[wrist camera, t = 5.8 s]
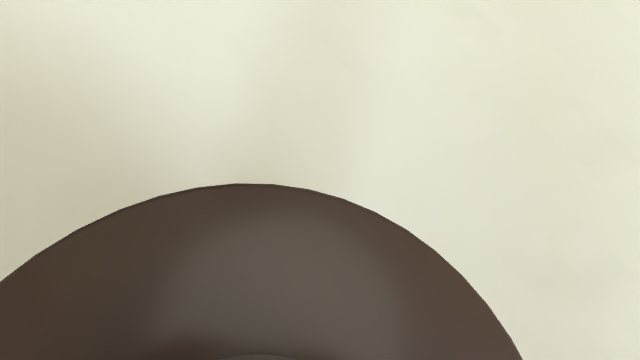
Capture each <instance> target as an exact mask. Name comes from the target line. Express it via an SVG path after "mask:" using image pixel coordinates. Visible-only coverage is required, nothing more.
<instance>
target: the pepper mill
mask: <svg viewBox="0 0 640 360" xmlns="http://www.w3.org/2000/svg"><path fill="white" fill-rule="evenodd" d="M0 360H523V359H522V357H521V356H520V354H519V352H518V350H517V348H516V347H515V345H514V343H513V341H512V339H511V338H510V336H509V335H508V333H507V332H506V330H505V329H504V328H503V326H502V325H501V323H500V322H499V320H498V319H497V318H496V316H495V315H494V313H493V312H492V310H491V309H490V307H489V306H488V305H487V304H486V302H485V301H484V300H483V299H482V298H481V297H480V295H479V294H478V293H477V292H476V291H475V290H474V289H473V287H472V286H471V285H470V284H469V283H468V282H467V280H466V279H465V278H464V277H463V276H462V275H461V274H460V273H459V272H458V271H457V270H456V269H455V268H453V267H452V266H451V265H450V264H449V263H448V262H447V261H446V260H445V259H444V258H443V257H442V256H440V255H439V254H438V253H437V252H436V251H435V250H434V249H432V248H431V247H429V246H428V245H427V244H425V243H424V242H423V241H421V240H420V239H418V238H417V237H416V236H414V235H413V234H412V233H410V232H409V231H408V230H406V229H404V228H403V227H401V226H399V225H397V224H396V223H394V222H392V221H390V220H388V219H387V218H385V217H383V216H381V215H379V214H378V213H376V212H374V211H372V210H369V209H367V208H364V207H362V206H359V205H357V204H354V203H352V202H350V201H347V200H345V199H342V198H339V197H335V196H331V195H328V194H324V193H320V192H317V191H313V190H309V189H303V188H296V187H289V186H282V185H275V184H238V183H236V184H226V185H216V186H206V187H198V188H193V189H189V190H184V191H180V192H175V193H170V194H166V195H161V196H158V197H155V198H152V199H149V200H146V201H143V202H140V203H137V204H135V205H132V206H129V207H126V208H123V209H120V210H118V211H116V212H113V213H111V214H109V215H107V216H105V217H103V218H101V219H99V220H97V221H94V222H92V223H90V224H88V225H86V226H84V227H82V228H80V229H78V230H76V231H74V232H72V233H71V234H69V235H68V236H66V237H64V238H63V239H61V240H59V241H58V242H56V243H54V244H53V245H51V246H50V247H48V248H46V249H45V250H43V251H41V252H40V253H38V254H36V255H35V256H33V257H32V258H31V259H30V260H28V261H27V262H26V263H24V264H23V265H22V266H20V267H19V268H18V269H16V270H15V271H14V272H12V273H11V274H10V275H9V276H7V277H6V278H5V279H3V280H2V281H1V282H0Z"/></svg>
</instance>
